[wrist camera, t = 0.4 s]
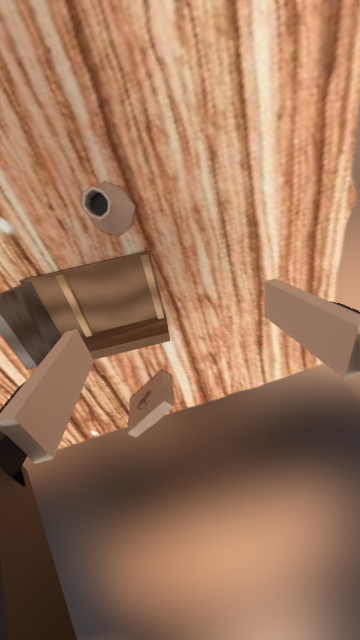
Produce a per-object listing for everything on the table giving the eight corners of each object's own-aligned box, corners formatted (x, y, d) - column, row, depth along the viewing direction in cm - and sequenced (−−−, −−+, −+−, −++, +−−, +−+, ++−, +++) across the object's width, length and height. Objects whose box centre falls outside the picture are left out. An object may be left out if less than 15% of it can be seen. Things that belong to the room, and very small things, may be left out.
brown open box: (23, 279, 33) (-26, 298, 24) (148, 250, 34) (148, 259, 24) (62, 345, 39) (35, 380, 30) (166, 320, 40) (171, 347, 31)
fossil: (160, 367, 45) (163, 400, 37) (171, 374, 47) (176, 407, 38) (129, 398, 48) (124, 435, 39) (140, 404, 49) (138, 440, 41)
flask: (121, 244, 33) (110, 251, 24) (79, 215, 30) (49, 210, 21) (144, 205, 31) (141, 196, 22) (101, 170, 28) (79, 144, 19)
